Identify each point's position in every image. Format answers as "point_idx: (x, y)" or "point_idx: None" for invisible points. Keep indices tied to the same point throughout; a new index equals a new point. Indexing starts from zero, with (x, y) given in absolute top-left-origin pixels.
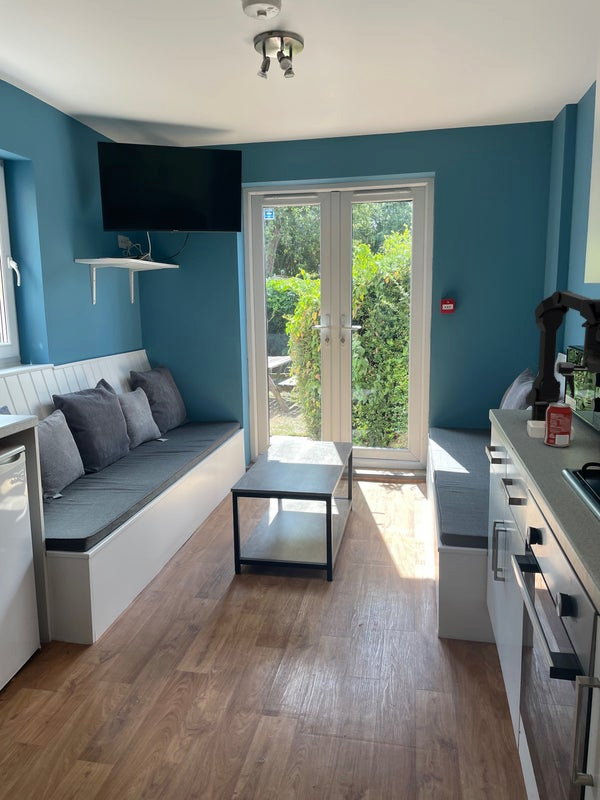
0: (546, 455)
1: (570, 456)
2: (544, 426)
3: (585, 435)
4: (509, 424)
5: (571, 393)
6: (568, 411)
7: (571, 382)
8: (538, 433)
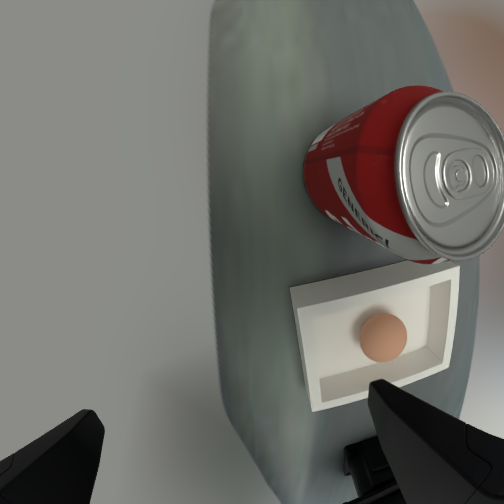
0: (362, 22)
1: (287, 29)
2: (405, 329)
3: (246, 383)
4: (451, 397)
5: (409, 402)
6: (383, 106)
7: (494, 461)
8: (420, 265)
